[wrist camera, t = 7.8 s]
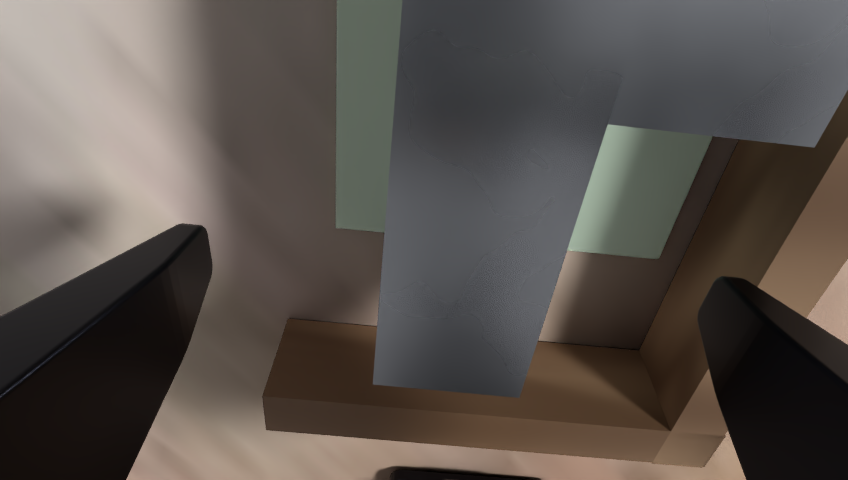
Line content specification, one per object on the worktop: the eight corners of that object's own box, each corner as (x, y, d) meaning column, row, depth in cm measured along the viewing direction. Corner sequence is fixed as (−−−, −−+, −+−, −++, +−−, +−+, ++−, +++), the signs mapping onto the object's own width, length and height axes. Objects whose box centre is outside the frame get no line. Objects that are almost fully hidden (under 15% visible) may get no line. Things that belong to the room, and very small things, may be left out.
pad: (656, 256, 15) (658, 259, 15) (336, 225, 15) (335, 227, 15) (825, -129, 10) (829, -129, 10) (338, -189, 10) (337, -190, 10)
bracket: (426, -161, 10) (416, -170, 6) (749, -120, 10) (955, -99, 6) (391, 240, 15) (373, 384, 11) (604, 262, 15) (662, 411, 11)
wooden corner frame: (669, 385, 18) (703, 467, 16) (290, 352, 18) (266, 430, 16) (1097, -392, 8) (1376, -495, 6) (234, -515, 8) (137, -684, 5)
